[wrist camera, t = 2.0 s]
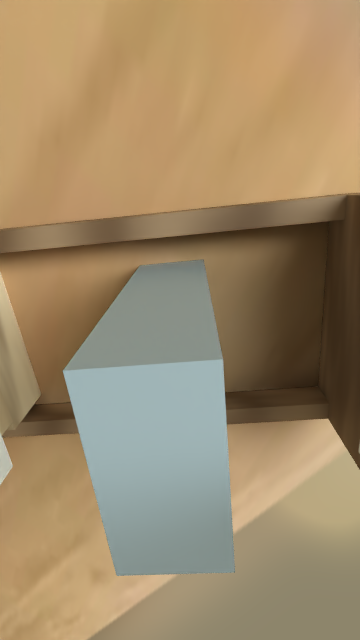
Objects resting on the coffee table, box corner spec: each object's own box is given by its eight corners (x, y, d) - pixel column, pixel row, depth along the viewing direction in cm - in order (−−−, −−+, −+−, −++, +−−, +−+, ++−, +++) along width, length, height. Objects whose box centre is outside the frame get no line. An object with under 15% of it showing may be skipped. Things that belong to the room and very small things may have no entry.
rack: (-38, 422, 25) (-174, 557, 16) (-115, 240, 20) (-380, 280, 11) (334, 399, 23) (430, 536, 14) (352, 193, 18) (522, 190, 9)
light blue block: (155, 375, 23) (116, 575, 11) (139, 265, 20) (62, 370, 8) (211, 371, 23) (234, 572, 11) (203, 259, 20) (222, 359, 8)
